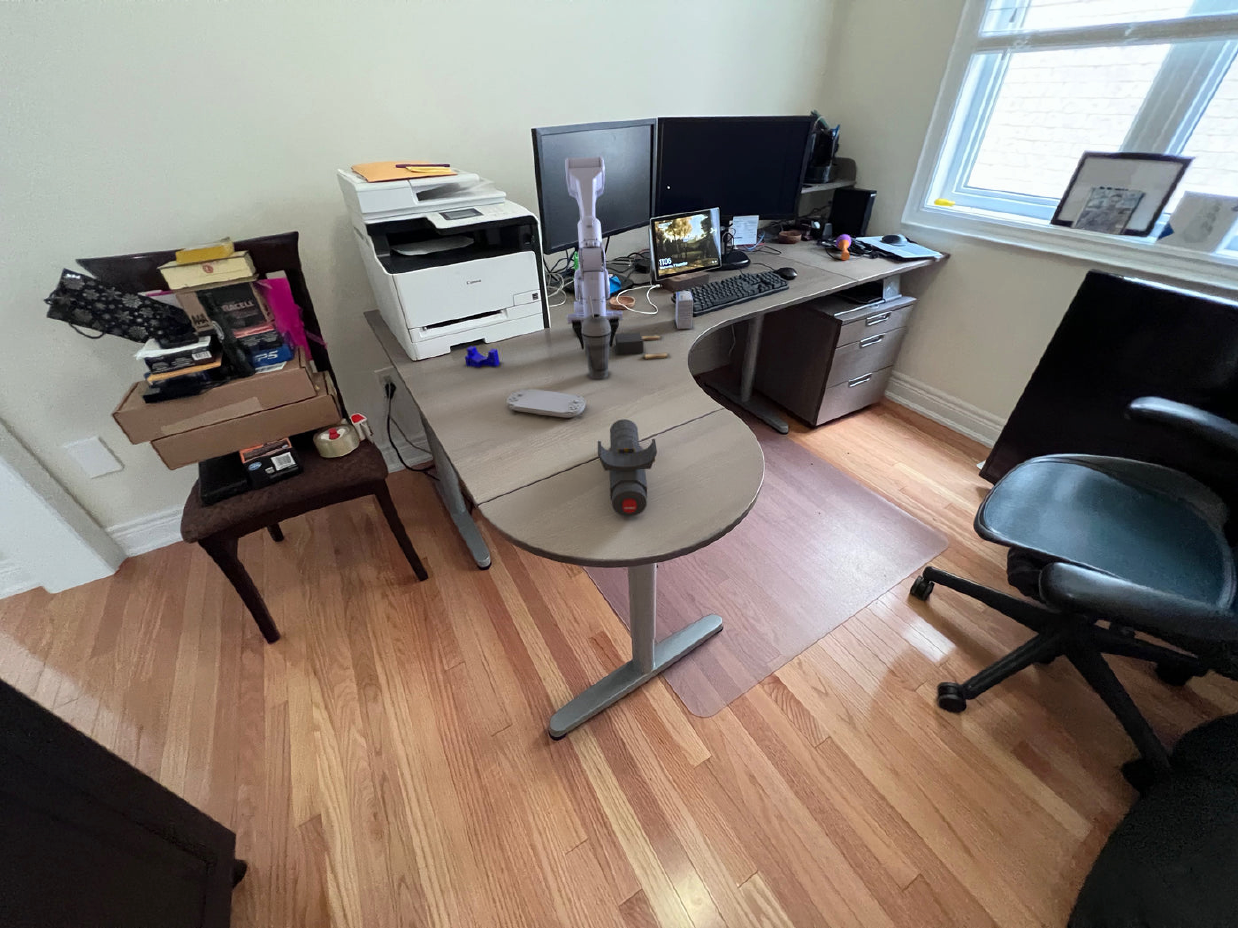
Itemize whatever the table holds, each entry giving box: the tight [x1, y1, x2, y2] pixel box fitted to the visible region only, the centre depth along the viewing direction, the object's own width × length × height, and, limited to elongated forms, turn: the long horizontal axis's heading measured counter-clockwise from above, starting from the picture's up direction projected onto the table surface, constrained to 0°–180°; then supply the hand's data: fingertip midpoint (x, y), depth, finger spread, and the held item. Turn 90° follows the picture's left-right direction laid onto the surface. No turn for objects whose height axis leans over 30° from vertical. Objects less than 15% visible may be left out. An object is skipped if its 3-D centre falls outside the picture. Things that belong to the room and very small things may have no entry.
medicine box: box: [674, 290, 694, 330], centre depth 146 cm, size 8×4×9 cm, turn 179°
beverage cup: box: [581, 296, 611, 380], centre depth 118 cm, size 7×7×20 cm
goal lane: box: [641, 334, 668, 360], centre depth 136 cm, size 6×14×1 cm, turn 6°
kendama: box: [835, 234, 852, 262], centre depth 202 cm, size 6×6×20 cm
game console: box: [506, 388, 586, 419], centre depth 111 cm, size 18×2×8 cm
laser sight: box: [597, 418, 658, 517], centre depth 88 cm, size 10×22×10 cm, turn 2°
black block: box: [614, 331, 644, 355], centre depth 135 cm, size 7×6×4 cm
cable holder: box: [464, 345, 501, 368], centre depth 129 cm, size 8×4×4 cm, turn 71°
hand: (596, 346), depth 134 cm, fingers open, 7 cm apart
